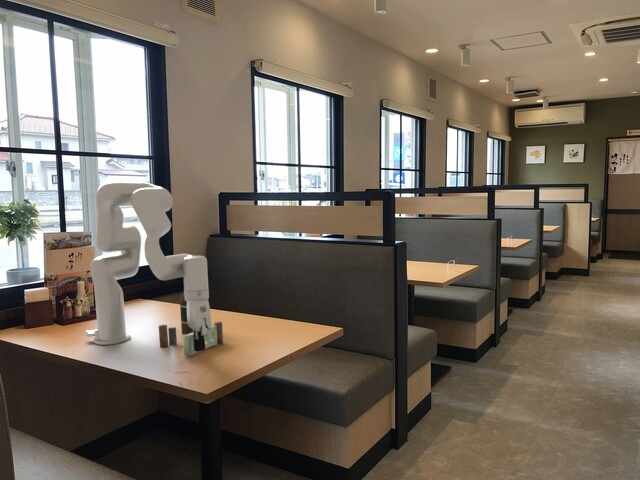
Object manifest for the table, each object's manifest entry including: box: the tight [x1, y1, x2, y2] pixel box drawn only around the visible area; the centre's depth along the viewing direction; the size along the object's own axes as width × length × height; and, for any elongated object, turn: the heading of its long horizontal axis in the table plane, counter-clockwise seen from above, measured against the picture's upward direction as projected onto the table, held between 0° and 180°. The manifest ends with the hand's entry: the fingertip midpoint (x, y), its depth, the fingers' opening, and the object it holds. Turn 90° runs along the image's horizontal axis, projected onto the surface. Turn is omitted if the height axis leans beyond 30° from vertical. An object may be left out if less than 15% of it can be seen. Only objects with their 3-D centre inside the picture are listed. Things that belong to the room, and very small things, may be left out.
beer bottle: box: [179, 292, 193, 335], centre depth 192 cm, size 8×8×24 cm
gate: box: [182, 324, 218, 357], centre depth 169 cm, size 15×2×6 cm, turn 151°
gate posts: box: [158, 321, 224, 349], centre depth 177 cm, size 22×4×8 cm, turn 96°
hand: (199, 350), depth 162 cm, fingers closed
